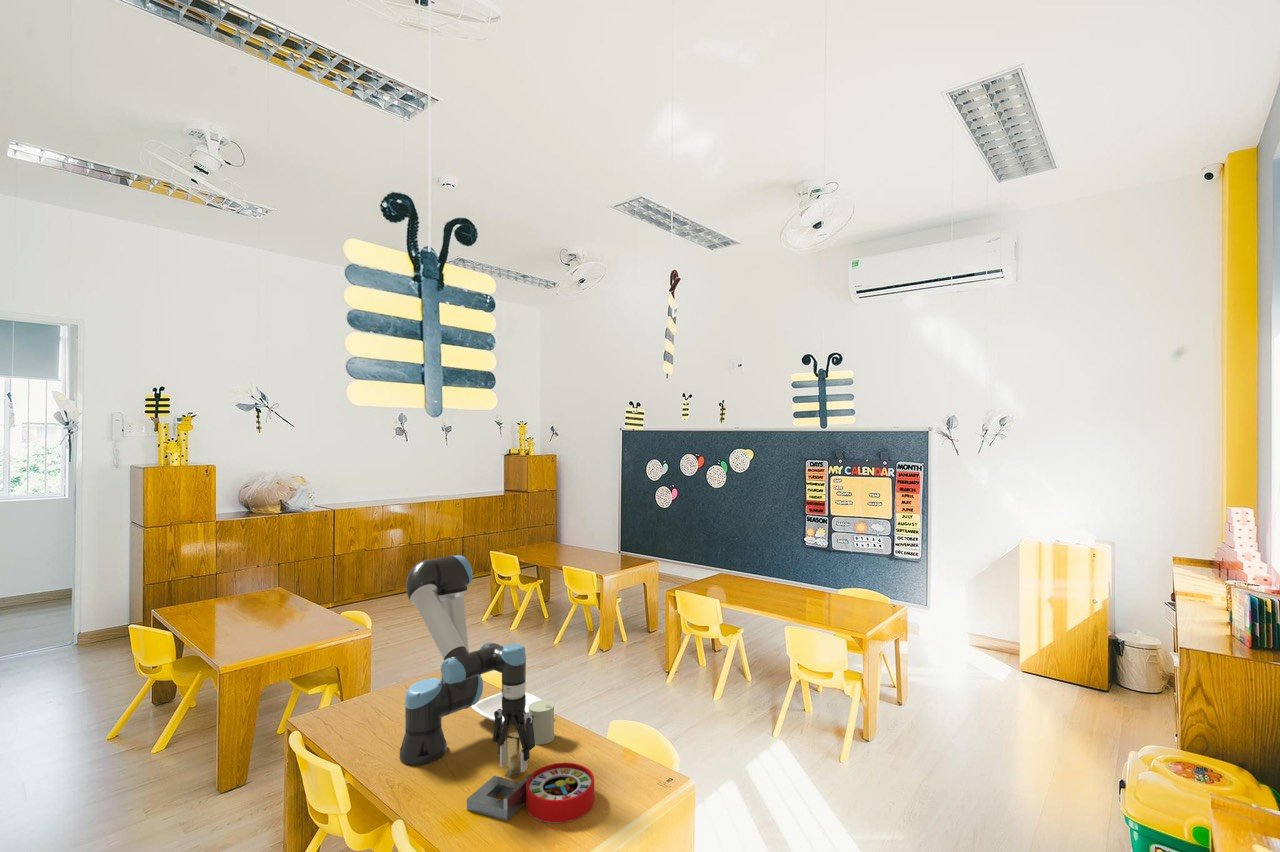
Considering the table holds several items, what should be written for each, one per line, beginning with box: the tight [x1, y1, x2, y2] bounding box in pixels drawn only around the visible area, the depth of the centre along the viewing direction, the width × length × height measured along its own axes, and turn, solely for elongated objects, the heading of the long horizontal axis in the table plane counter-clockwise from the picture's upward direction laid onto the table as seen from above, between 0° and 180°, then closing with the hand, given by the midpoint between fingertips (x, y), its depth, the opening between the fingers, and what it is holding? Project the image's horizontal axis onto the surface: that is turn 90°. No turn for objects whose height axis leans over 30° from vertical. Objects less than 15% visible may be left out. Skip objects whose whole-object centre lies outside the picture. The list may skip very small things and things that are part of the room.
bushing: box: [505, 732, 522, 779], centre depth 187 cm, size 4×4×12 cm
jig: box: [466, 774, 533, 822], centre depth 172 cm, size 14×13×6 cm
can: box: [529, 699, 555, 746], centre depth 210 cm, size 9×9×12 cm
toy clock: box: [525, 762, 595, 824], centre depth 172 cm, size 20×6×20 cm
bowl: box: [470, 691, 542, 726], centre depth 225 cm, size 22×23×6 cm
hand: (513, 767), depth 187 cm, fingers open, 7 cm apart
